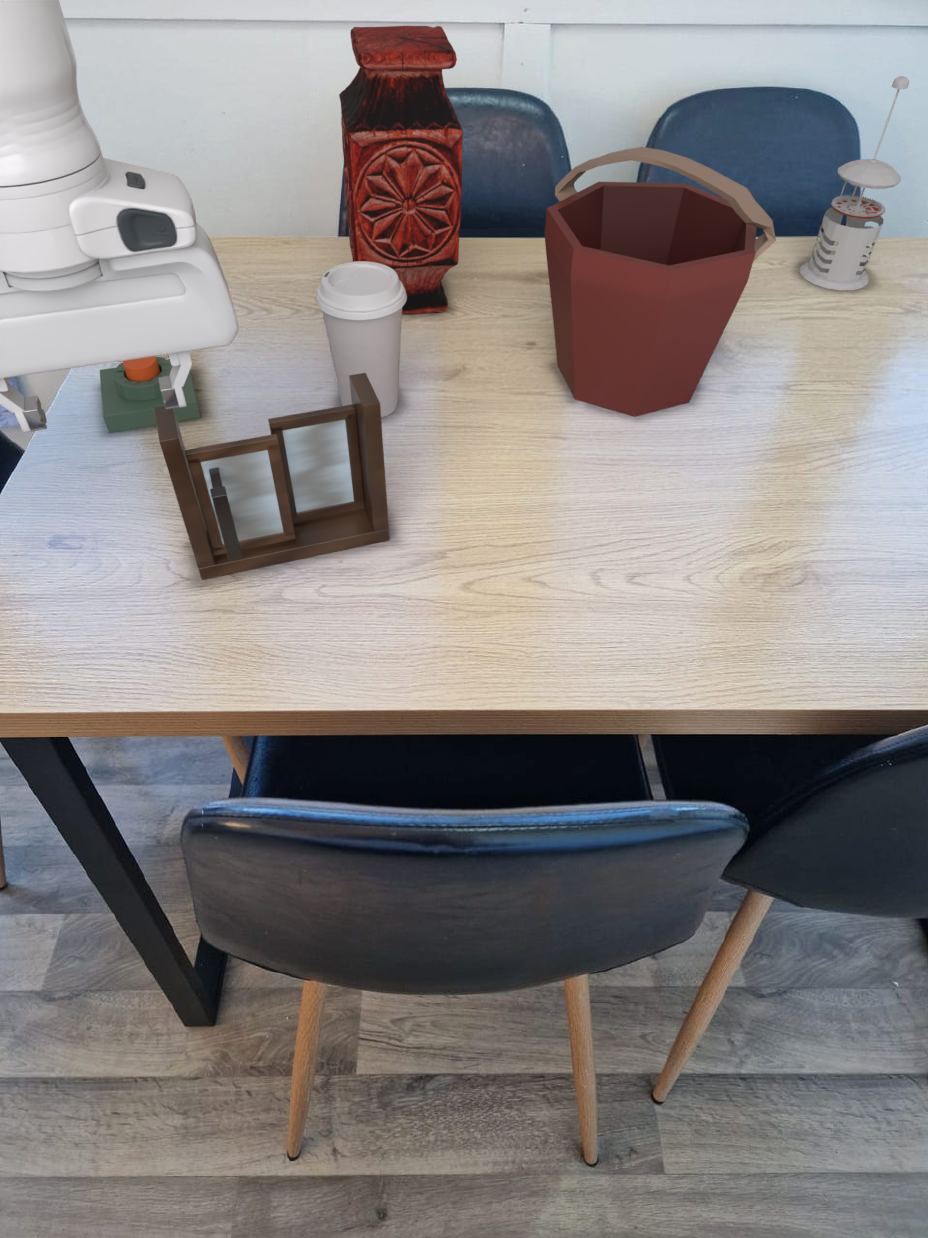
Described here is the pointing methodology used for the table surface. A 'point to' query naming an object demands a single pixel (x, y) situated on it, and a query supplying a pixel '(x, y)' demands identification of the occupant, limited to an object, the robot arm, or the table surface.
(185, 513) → the window frame
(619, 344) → the bucket
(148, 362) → the button
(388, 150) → the vase
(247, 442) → the sliding window sash
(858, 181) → the french press
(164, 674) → the table surface
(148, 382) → the button block
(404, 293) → the coffee cup
